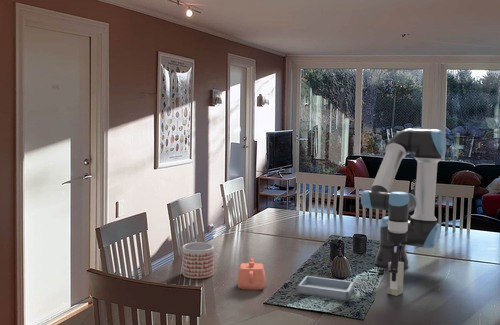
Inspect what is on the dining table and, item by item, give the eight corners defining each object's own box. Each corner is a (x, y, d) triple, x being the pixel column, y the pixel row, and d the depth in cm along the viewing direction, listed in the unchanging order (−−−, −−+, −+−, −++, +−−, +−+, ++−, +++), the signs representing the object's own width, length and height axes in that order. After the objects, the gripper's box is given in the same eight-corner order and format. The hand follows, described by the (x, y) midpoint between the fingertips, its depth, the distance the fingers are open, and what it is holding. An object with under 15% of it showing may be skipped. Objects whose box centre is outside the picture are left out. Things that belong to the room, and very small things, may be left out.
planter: (194, 281, 215) (194, 252, 214) (176, 273, 225) (176, 245, 224) (219, 275, 224) (220, 246, 223) (201, 267, 234) (201, 240, 233)
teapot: (236, 293, 202) (236, 268, 201) (238, 278, 220) (239, 255, 218) (265, 294, 201) (265, 268, 200) (265, 279, 219) (265, 255, 218)
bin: (305, 283, 215) (306, 275, 214) (353, 289, 208) (354, 281, 207) (297, 293, 202) (297, 285, 202) (348, 300, 195) (348, 292, 195)
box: (393, 290, 207) (394, 259, 206) (403, 293, 204) (404, 262, 203) (386, 293, 203) (387, 262, 202) (396, 296, 200) (397, 264, 199)
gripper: (390, 224, 214) (388, 273, 216) (384, 237, 191) (381, 292, 193) (409, 225, 211) (407, 275, 213) (405, 239, 188) (402, 294, 190)
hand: (395, 283), depth 203 cm, fingers open, 13 cm apart
